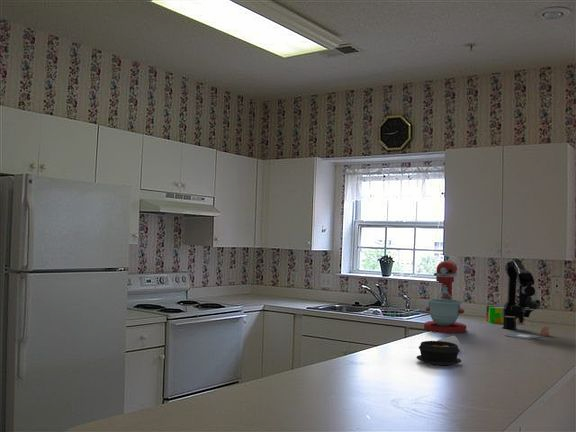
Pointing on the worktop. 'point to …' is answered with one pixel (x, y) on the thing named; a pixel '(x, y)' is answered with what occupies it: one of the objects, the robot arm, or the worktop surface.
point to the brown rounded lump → (544, 331)
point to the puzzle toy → (494, 314)
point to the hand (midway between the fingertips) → (523, 322)
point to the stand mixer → (445, 303)
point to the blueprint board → (523, 336)
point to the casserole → (439, 353)
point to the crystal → (452, 341)
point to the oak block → (524, 321)
